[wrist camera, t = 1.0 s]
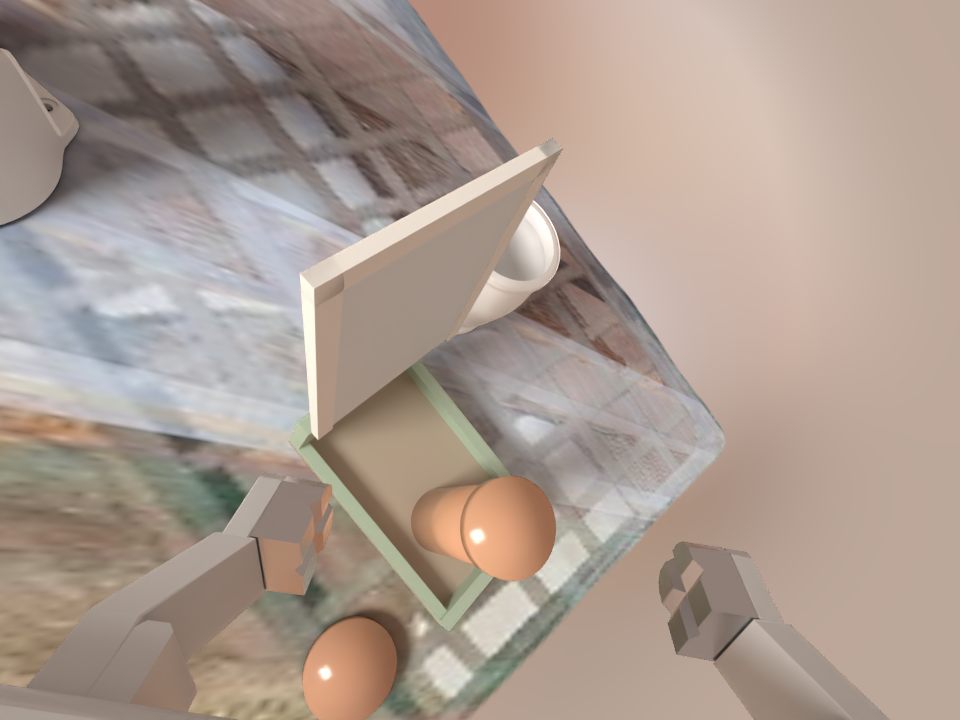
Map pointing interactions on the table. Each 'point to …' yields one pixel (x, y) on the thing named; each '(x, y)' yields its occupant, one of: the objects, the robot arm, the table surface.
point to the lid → (408, 285)
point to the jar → (518, 269)
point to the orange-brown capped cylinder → (488, 526)
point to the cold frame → (405, 479)
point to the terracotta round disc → (349, 670)
